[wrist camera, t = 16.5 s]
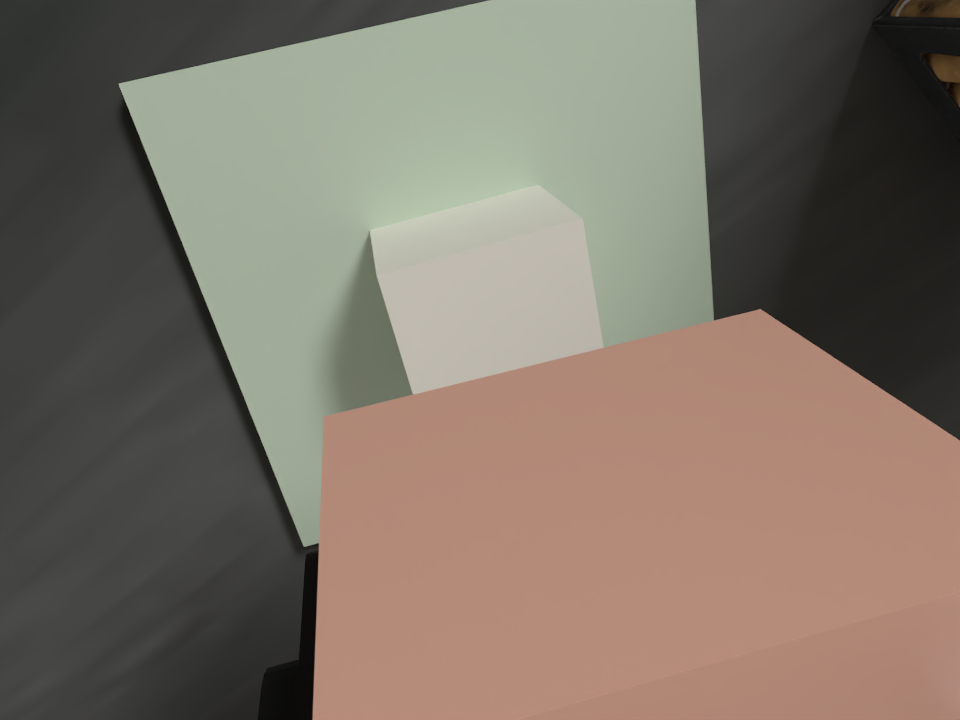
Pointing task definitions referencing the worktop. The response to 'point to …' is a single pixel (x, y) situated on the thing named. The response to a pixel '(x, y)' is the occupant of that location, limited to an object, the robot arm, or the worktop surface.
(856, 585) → the coral brick
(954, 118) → the ammunition clip
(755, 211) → the worktop surface
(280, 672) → the robot arm
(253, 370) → the base plate
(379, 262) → the cream brick
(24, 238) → the worktop surface
